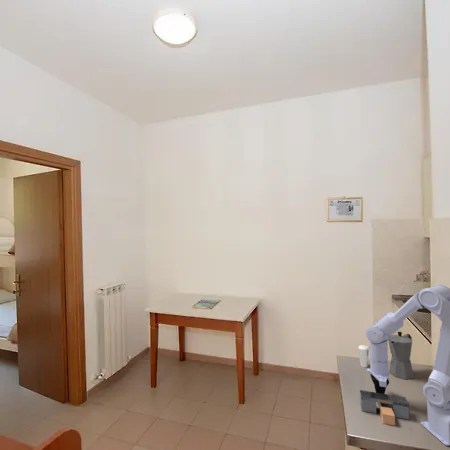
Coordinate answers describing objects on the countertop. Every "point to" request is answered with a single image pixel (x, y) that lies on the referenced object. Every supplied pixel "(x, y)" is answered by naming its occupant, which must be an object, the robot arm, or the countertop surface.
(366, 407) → the grey bridge block
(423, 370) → the countertop surface
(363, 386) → the countertop surface
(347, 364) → the countertop surface
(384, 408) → the plug
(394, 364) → the coffeepot
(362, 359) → the milkshake
